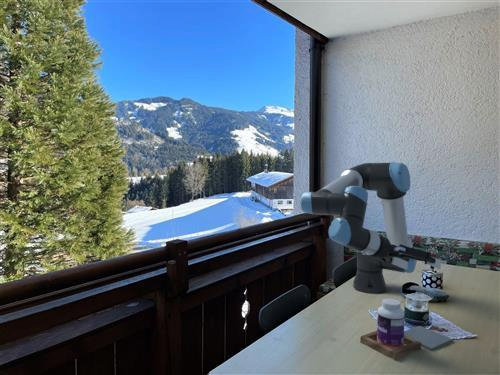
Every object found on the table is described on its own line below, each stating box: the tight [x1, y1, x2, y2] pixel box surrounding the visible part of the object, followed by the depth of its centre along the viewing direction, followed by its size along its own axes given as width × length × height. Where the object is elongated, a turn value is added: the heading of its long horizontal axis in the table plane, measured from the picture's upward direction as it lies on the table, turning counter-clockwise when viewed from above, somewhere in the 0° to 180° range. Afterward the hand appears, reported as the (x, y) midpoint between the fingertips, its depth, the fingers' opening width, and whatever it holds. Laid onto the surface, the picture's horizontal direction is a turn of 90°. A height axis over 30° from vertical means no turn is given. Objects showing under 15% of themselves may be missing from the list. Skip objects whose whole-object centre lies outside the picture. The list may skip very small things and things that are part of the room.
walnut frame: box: [359, 330, 422, 361], centre depth 115 cm, size 13×13×2 cm
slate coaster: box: [404, 325, 454, 352], centre depth 119 cm, size 12×12×1 cm
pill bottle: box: [376, 298, 405, 350], centre depth 114 cm, size 8×8×14 cm
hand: (422, 265), depth 120 cm, fingers open, 13 cm apart
